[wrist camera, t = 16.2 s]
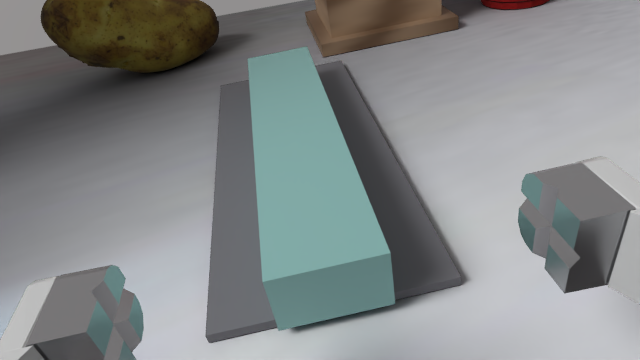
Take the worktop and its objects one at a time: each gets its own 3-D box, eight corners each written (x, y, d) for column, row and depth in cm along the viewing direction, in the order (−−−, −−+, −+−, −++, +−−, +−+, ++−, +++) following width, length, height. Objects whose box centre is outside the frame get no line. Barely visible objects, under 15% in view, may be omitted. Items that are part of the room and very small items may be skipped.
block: (278, 330, 15) (262, 281, 14) (256, 92, 32) (247, 58, 30) (395, 304, 15) (390, 253, 14) (312, 80, 32) (307, 46, 30)
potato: (218, 73, 37) (186, -34, 32) (63, 101, 37) (10, -1, 33) (228, 40, 44) (202, -52, 39) (96, 64, 44) (56, -25, 40)
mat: (209, 342, 16) (205, 335, 16) (222, 90, 34) (220, 85, 34) (461, 284, 16) (461, 277, 16) (341, 65, 34) (341, 60, 34)
